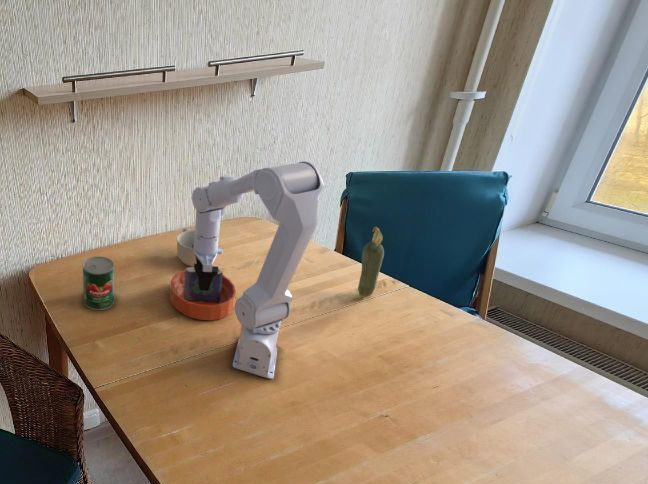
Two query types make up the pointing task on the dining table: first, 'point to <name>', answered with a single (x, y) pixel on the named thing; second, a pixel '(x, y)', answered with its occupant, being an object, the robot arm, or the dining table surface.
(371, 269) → the vegetable
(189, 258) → the teacup
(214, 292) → the flask
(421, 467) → the dining table surface
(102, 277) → the canned tomato
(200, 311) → the terracotta plant saucer
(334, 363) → the dining table surface
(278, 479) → the dining table surface
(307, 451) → the dining table surface
